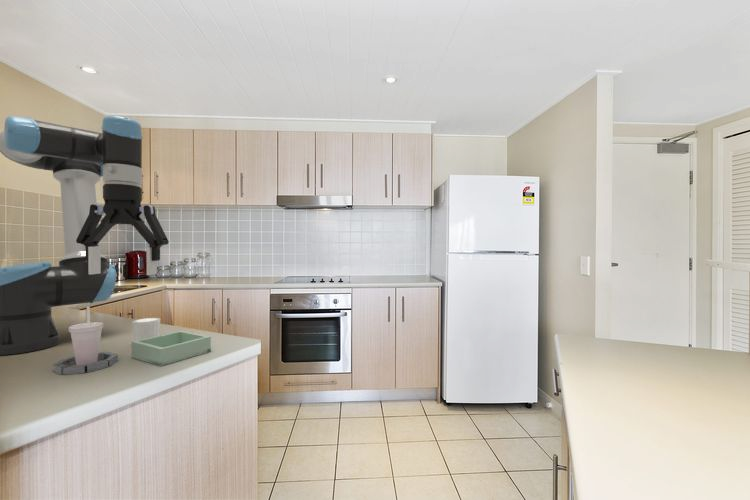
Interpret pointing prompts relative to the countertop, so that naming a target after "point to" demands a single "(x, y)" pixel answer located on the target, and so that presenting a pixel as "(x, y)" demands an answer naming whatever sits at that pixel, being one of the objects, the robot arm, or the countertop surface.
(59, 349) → the countertop surface
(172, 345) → the bin
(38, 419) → the countertop surface
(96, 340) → the smoothie
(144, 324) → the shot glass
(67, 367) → the collar
